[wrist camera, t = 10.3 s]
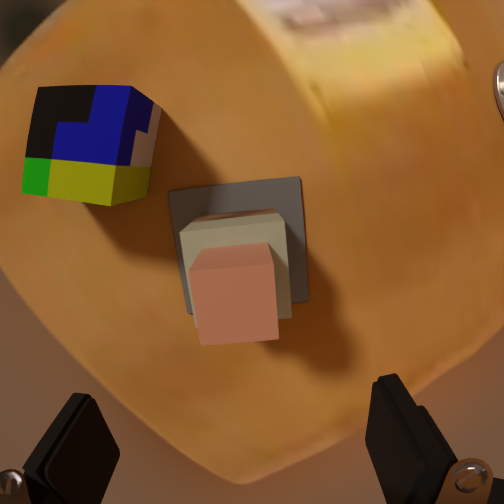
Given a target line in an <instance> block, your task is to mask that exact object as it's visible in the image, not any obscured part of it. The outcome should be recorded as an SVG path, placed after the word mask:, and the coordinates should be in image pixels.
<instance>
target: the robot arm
mask: <svg viewBox="0 0 504 504" xmlns="http://www.w3.org/2000/svg"><path fill="white" fill-rule="evenodd" d="M494 90H495V96H496V100H497V104H498V107H499V109H500V112H501V114H502V116H503V118H504V61H502V62H501V63H500V64H499V65H498V66H497V68H496V71H495V74H494ZM365 441H366V446H367V449H368V452H369V455H370V457H371V460H372V463H373V466H374V468H375V471H376V474H377V476H378V479H379V482H380V485H381V488H382V491H383V494H384V496H385V500H386V502H387V504H504V479H499V478H494V477H493V473H492V469H491V468H490V467H489V465H488V464H486V463H485V462H484V461H482V460H479V459H475V458H468V459H463V460H461V461H458V459H457V458H456V456H455V454H454V453H453V451H452V449H451V448H450V446H449V444H448V443H447V441H446V440H445V438H444V436H443V435H442V433H441V432H440V430H439V428H438V427H437V425H436V424H435V422H434V421H433V419H432V417H431V416H430V414H429V413H428V411H427V410H426V409H425V407H424V406H422V405H421V406H417V405H416V404H415V402H414V400H413V399H412V397H411V395H410V394H409V392H408V391H407V389H406V388H405V386H404V384H403V383H402V381H401V380H400V378H399V377H398V375H397V374H395V373H394V374H389V375H385V376H380V377H379V378H378V380H377V382H373V385H372V393H371V401H370V409H369V416H368V423H367V430H366V436H365ZM119 457H120V451H119V448H118V446H117V444H116V443H115V440H114V438H113V436H112V434H111V432H110V430H109V428H108V426H107V424H106V422H105V420H104V418H103V416H102V414H101V411H100V409H99V407H98V405H97V403H96V401H95V399H93V398H92V397H91V396H90V395H89V394H83V393H74V394H72V396H71V397H70V398H69V400H68V401H67V403H66V404H65V405H64V407H63V408H62V410H61V411H60V412H59V414H58V415H57V417H56V418H55V420H54V421H53V422H52V424H51V425H50V427H49V428H48V430H47V431H46V433H45V434H44V436H43V437H42V439H41V440H40V441H39V443H38V445H37V446H36V447H35V449H34V450H33V452H32V453H31V455H30V456H29V458H28V459H27V461H26V463H25V464H24V466H23V467H22V468H23V469H24V470H25V472H24V474H22V473H21V472H20V471H18V470H15V469H7V470H4V471H2V472H0V504H101V502H102V499H103V497H104V494H105V492H106V489H107V486H108V484H109V481H110V479H111V476H112V474H113V472H114V469H115V467H116V464H117V462H118V460H119Z"/></svg>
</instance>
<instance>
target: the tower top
mask: <svg viewBox="0 0 504 504" xmlns="http://www.w3.org/2000/svg"><path fill="white" fill-rule="evenodd" d="M179 233H180V240H181V246H182V253H183V259H184V265H185V271H186V277H187V283H188V288H189V294H190V300H191V305H192V310H193V316H194V321H195V326H196V327H197V321H196V316H195V310H194V304H193V298H192V292H191V285H190V279H189V272H188V271H189V269H190V268H191V266H192V264H193V263H194V261H195V259H196V258H197V256H198V254H199V253H200V251H201V249H202V248H211V247H222V246H232V245H243V244H253V243H264V242H268V245H269V249H270V253H271V256H272V260H273V263H274V276H275V289H276V303H277V316H278V320H279V319H288V318H292V308H291V294H290V281H289V268H288V256H287V244H286V233H285V222H284V220H283V218H282V217H281V216H280V214H279V213H273V214H264V215H254V216H245V217H236V218H227V219H219V220H210V221H202V222H194V223H190V224H189V225H188V226H186V227H185V228H184V229H183V230H182V231H181V232H179Z"/></svg>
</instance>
